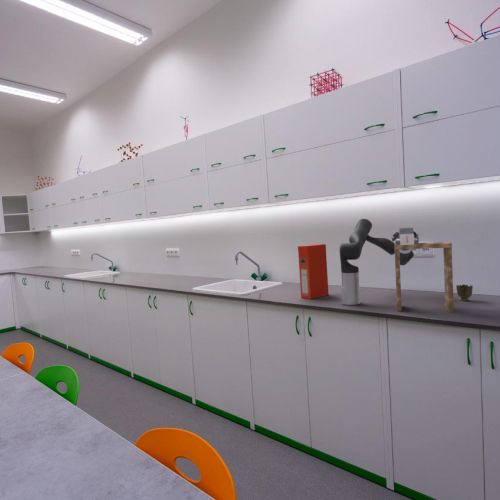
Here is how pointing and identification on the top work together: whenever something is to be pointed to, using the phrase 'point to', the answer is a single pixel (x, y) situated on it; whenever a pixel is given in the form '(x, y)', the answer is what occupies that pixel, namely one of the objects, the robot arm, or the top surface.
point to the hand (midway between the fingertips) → (405, 229)
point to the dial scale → (407, 240)
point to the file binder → (313, 271)
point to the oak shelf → (447, 270)
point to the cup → (464, 292)
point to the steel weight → (405, 231)
